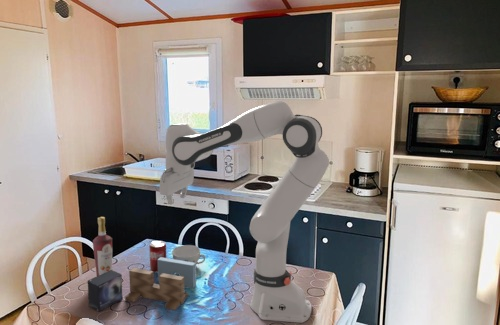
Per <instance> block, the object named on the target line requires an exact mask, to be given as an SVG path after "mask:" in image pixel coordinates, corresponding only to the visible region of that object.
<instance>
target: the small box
mask: <svg viewBox="0 0 500 325" xmlns="http://www.w3.org/2000/svg"><path fill="white" fill-rule="evenodd" d="M122 279H123V278H122V273H120V272H117V271H115V270H113V269H112V270H110V271H108V272H105V273H103V274H101V275H99V276H97V275H96V276H95V277H92V278H90V279H88V280H87V282H86V283H87V294H88V308H90V309H92V310H93V311H97V312H99V313H100V312H101V311H104V310H105V309H107V308H108V307H110V306H112V305H115V304H116V303H118V302H120V301H122V300H123V280H122Z"/></svg>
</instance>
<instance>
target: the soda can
mask: <svg viewBox="0 0 500 325" xmlns="http://www.w3.org/2000/svg"><path fill="white" fill-rule="evenodd" d="M148 249H149V250H148V251H149V271H153V273H158V261H157V260H158V259H159V258H160V257H163V258H168V256H167V243H166V242H165V241H163V240H154V241H152V242H150V244H149V248H148Z"/></svg>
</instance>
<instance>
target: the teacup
mask: <svg viewBox="0 0 500 325" xmlns="http://www.w3.org/2000/svg"><path fill="white" fill-rule="evenodd" d="M171 254H172V259H175V260H181V261H187V262H193V263H196V265H201V264H203V263H204V262H205V261H206V255H205V254H201V249H200V248H199V246H196V245H193V244H185V245H180V246H177V247H175V248H173V249H172V251H171ZM200 258H203V260H201V261H199V259H200Z"/></svg>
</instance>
